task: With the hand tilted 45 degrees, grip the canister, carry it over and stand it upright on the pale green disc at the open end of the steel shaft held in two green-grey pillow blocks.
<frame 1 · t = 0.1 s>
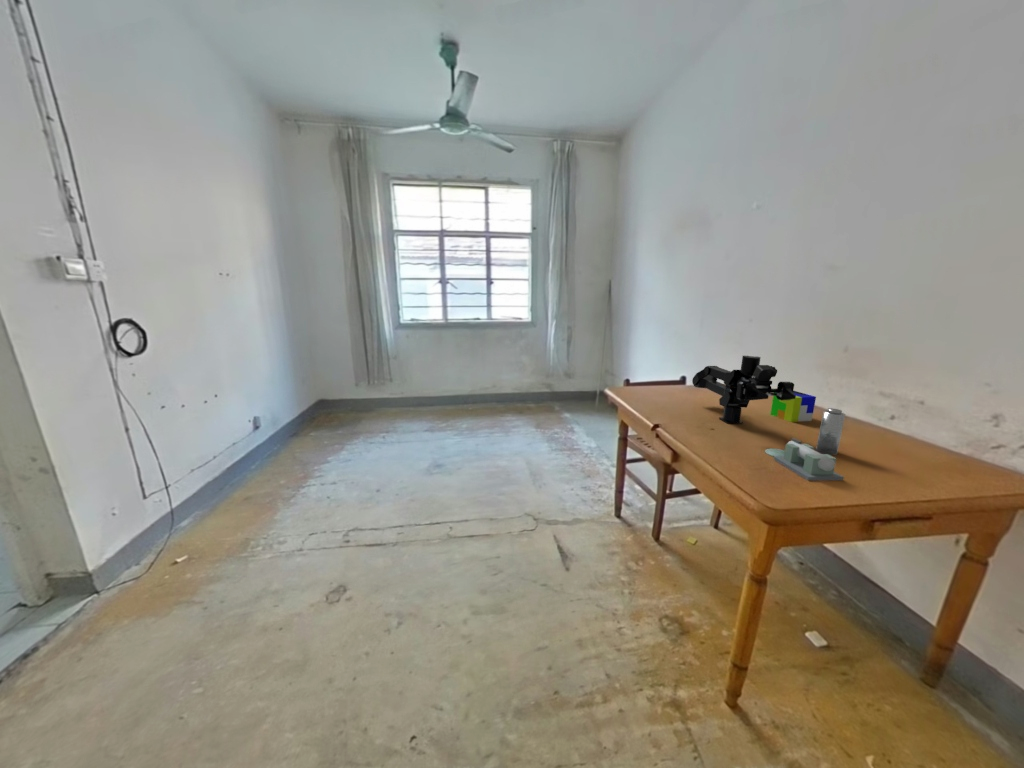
hand: (781, 397, 134), 17 cm above the table, tool horizontal, fingers open, 9 cm apart
shaft stand: (806, 469, 119), on the table
canister: (826, 451, 133), on the table
puzzle toy: (790, 418, 169), on the table
pale green disc: (779, 453, 130), on the table
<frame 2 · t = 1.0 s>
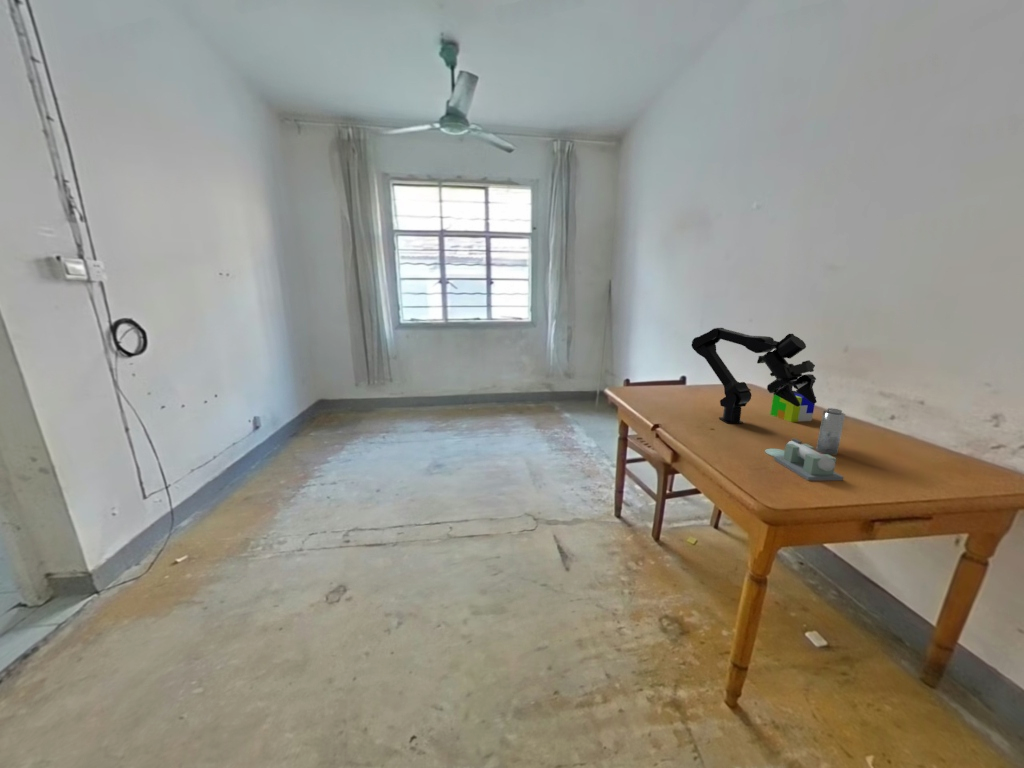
hand: (807, 404, 137), 14 cm above the table, tool tilted 45°, fingers open, 9 cm apart
nothing on the table moved.
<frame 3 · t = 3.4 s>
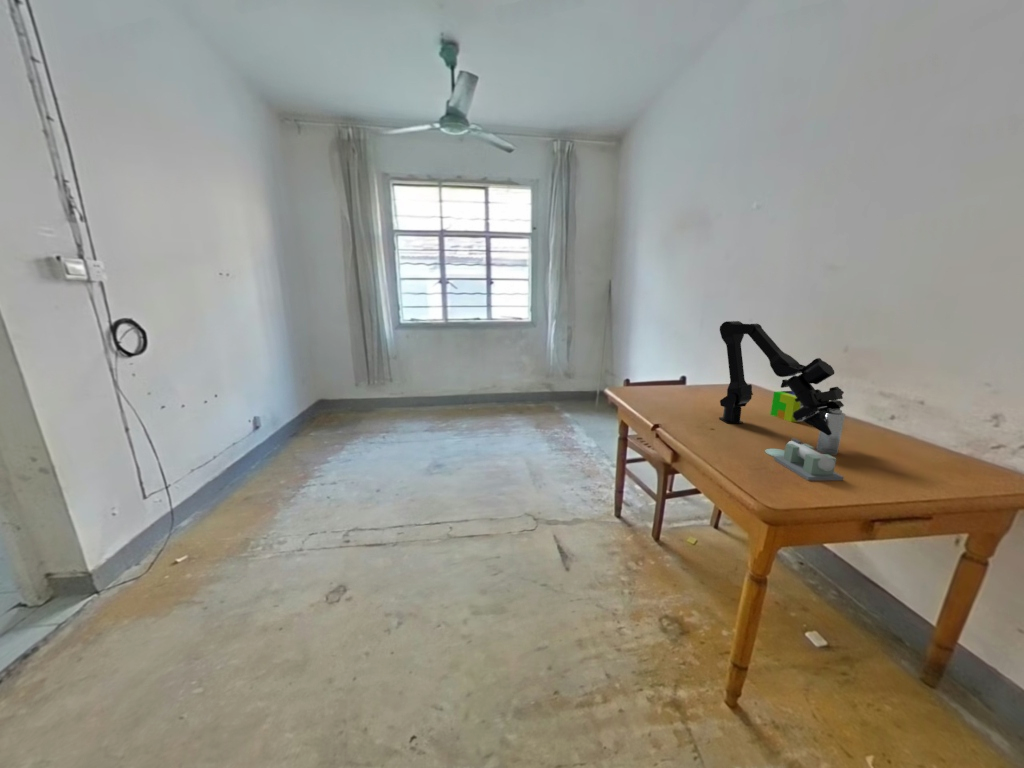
hand: (835, 433, 130), 7 cm above the table, tool tilted 45°, fingers closed on canister, 5 cm apart
canister: (826, 451, 133), on the table, touching gripper
everything else where it was.
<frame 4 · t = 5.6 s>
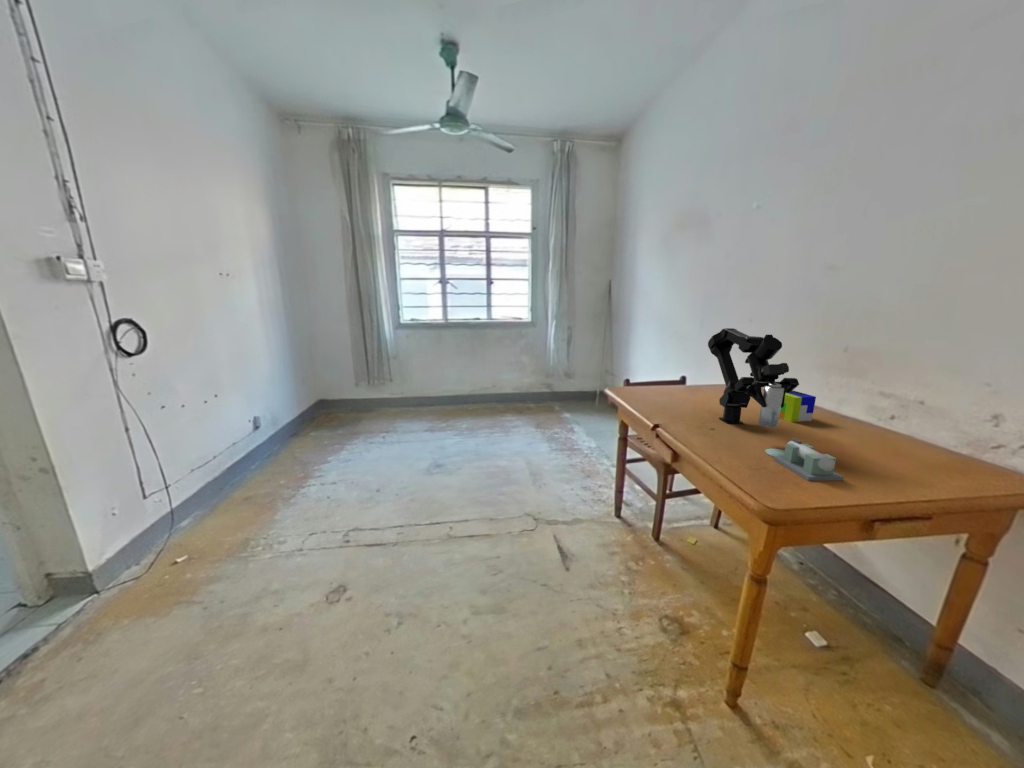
hand: (773, 407, 135), 13 cm above the table, tool tilted 45°, fingers closed on canister, 5 cm apart
canister: (767, 424, 138), point 7 cm above the table, touching gripper
everything else where it was.
when the fingers open (8 cm above the table, at t = 8.2 s): canister stays where it is, resting on pale green disc.
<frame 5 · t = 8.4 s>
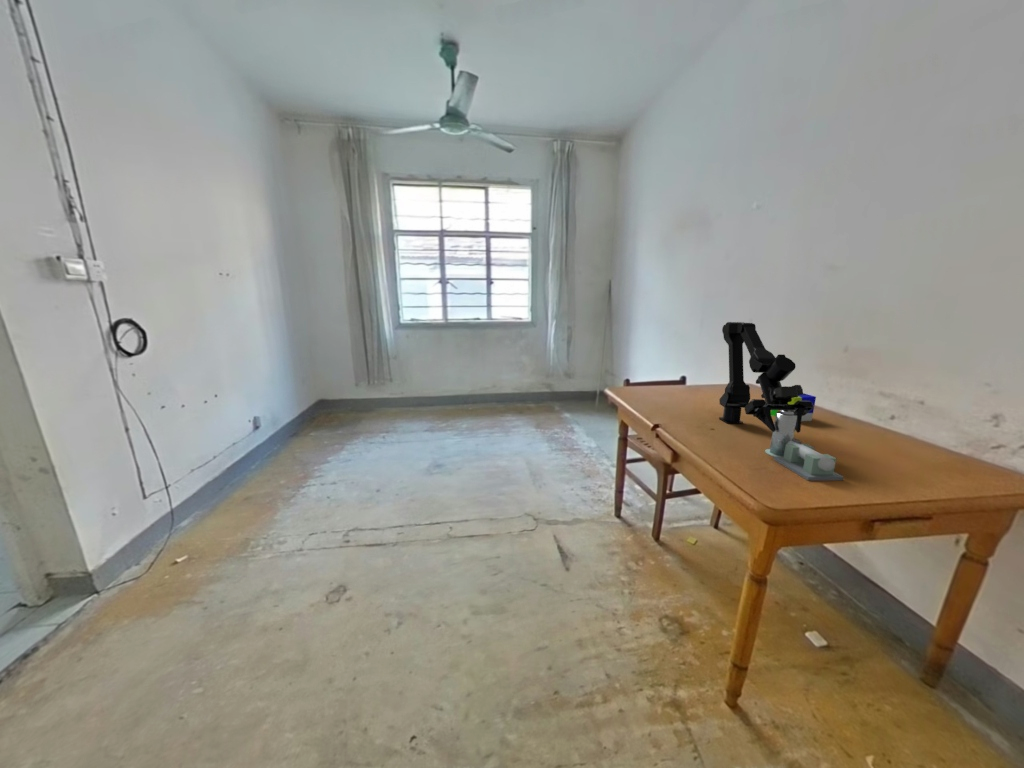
hand: (786, 431, 127), 8 cm above the table, tool tilted 45°, fingers open, 7 cm apart
canister: (779, 453, 130), resting on pale green disc
everything else where it was.
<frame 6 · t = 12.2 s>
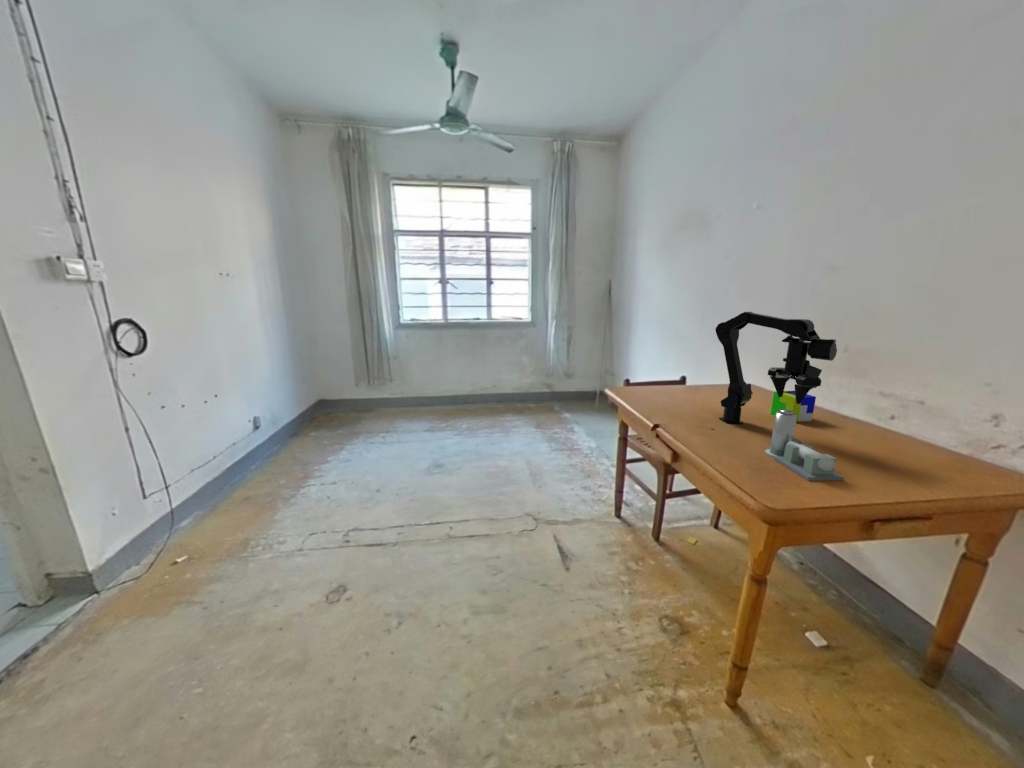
hand: (789, 400, 144), 13 cm above the table, tool pointing down, fingers open, 9 cm apart
nothing on the table moved.
at the end: canister 0.2 cm from the pale green disc (horizontally); canister tilted 0°; the gripper is holding nothing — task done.
